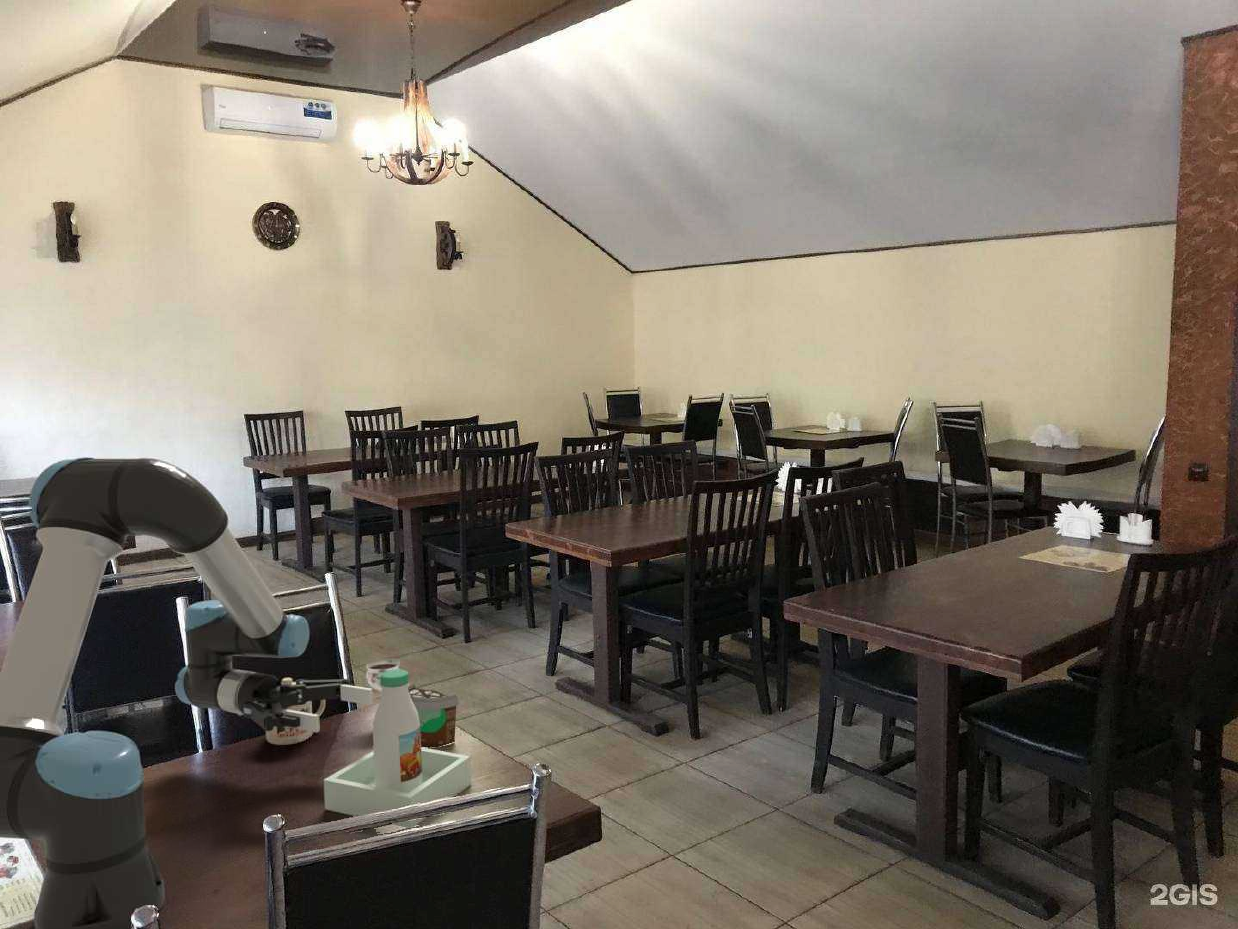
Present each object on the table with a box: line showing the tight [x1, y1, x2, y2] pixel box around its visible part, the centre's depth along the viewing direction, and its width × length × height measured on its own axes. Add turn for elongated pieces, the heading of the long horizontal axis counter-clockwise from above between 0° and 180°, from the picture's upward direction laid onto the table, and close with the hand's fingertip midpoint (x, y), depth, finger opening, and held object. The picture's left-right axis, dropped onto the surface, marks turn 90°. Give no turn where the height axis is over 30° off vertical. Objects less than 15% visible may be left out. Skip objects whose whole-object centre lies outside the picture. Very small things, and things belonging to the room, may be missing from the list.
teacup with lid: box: [265, 677, 326, 746], centre depth 186 cm, size 12×9×12 cm
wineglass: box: [365, 658, 401, 693], centre depth 192 cm, size 7×7×12 cm
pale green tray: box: [323, 747, 472, 829], centre depth 159 cm, size 17×17×5 cm
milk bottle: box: [372, 669, 422, 793], centre depth 158 cm, size 8×8×20 cm
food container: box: [408, 682, 460, 749], centre depth 181 cm, size 12×6×10 cm, turn 55°
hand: (345, 709), depth 162 cm, fingers open, 13 cm apart
